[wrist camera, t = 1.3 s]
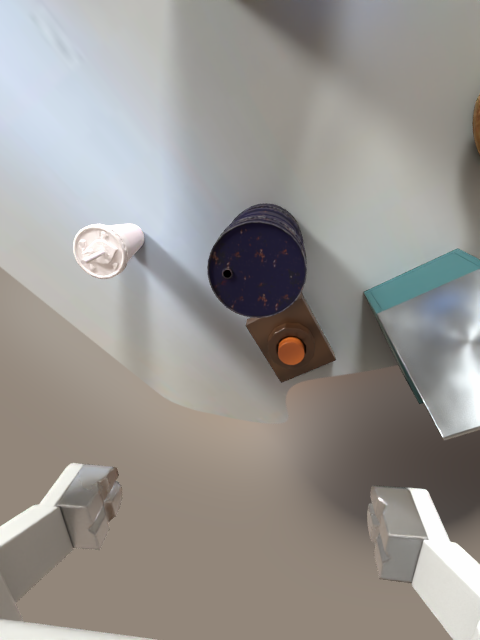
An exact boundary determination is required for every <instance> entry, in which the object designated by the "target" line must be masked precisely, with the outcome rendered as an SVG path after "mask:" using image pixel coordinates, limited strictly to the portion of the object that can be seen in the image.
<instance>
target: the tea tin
mask: <svg viewBox="0 0 480 640" xmlns="http://www.w3.org/2000/svg"><path fill="white" fill-rule="evenodd" d="M478 269H480V260H479V259H477V258H475V257H474V256H472V255H470V254H468V253H466V252H464V251H462V250H460V249H456V250H453V251H451V252H449V253H447V254H445V255H443V256H440V257H438V258H436V259H434V260H432V261H430V262H427V263H425V264H423V265H421V266H419V267H417V268H415V269H412V270H410V271H408V272H406V273H404V274H402V275H399V276H397V277H395V278H393V279H391V280H389V281H386V282H384V283H382V284H380V285H378V286H376V287H373V288H371V289H369V290H367V291H365V292H364V294H365V296H366V298H367V301H368V303H369V305H370V307H371V309H372V311H373V313H374V315H375V317H376V319H377V321H378V323H379V326H380V328H381V330H382V332H383V334H384V336H385V338H386V340H387V342H388V344H389V346H390V348H391V351H392V353H393V355H394V357H395V359H396V361H397V363H398V365H399V367H400V369H401V371H402V373H403V375H404V377H405V379H406V381H407V382H408V384H409V386H410V388H411V390H412V391H413V393H414V395H415V397H416V399H417V401H418V402H419V404H421V403H423V401H422V399H421V397H420V395H419V393H418V392H417V390H416V388H415V386H414V384H413V382H412V380H411V378H410V377H409V375H408V373H407V371H406V369H405V367H404V365H403V363H402V362H401V360H400V358H399V356H398V354H397V352H396V350H395V348H394V346H393V345H392V343H391V341H390V339H389V337H388V335H387V333H386V331H385V330H384V328H383V326H382V324H381V322H380V320H379V318H378V316H377V313H380V312H382V311H384V310H386V309H389V308H391V307H393V306H396V305H398V304H400V303H402V302H405V301H407V300H409V299H412V298H414V297H416V296H418V295H421V294H423V293H425V292H428V291H430V290H432V289H434V288H437V287H439V286H441V285H443V284H446V283H448V282H450V281H453V280H455V279H457V278H459V277H462V276H464V275H466V274H469V273H471V272H473V271H475V270H478Z"/></svg>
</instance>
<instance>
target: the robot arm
mask: <svg viewBox="0 0 480 640" xmlns="http://www.w3.org/2000/svg"><path fill="white" fill-rule="evenodd" d="M118 475H119V474H118V471H117V468H116V467H109V466H100V465H90V464H77V463H71V464H70V465H68V466H67V467H66V469H65V470H64V471H63V473H62V474H61V476H60V477H59V478H58V480H57V481H56V482H55V484H54V485H53V487H52V488H51V489H50V491H49V492H48V493H47V495H46V496H45V497H44V499H43V500H42V501H41V503H40V504H39V505H33V506H32V507H30V508H29V509H27V510H25V511H24V512H22V513H21V514H19V515H18V516H16V517H14V518H13V519H11V520H10V521H8V522H7V523H5V524H3V525H2V526H0V640H156V639H149V638H141V637H134V636H127V635H119V634H112V633H104V632H96V631H89V630H82V629H74V628H66V627H59V626H52V625H44V624H37V623H29V622H23V620H22V615H21V614H20V611H19V609H18V607H17V605H16V602H17V601H18V600H19V599H20V598H22V597H23V596H24V595H25V594H26V593H27V592H28V591H29V590H30V589H31V588H32V587H33V586H34V585H36V584H37V583H38V582H39V581H40V580H41V579H42V578H43V577H44V576H45V575H46V574H48V573H49V572H50V571H51V570H52V569H53V568H54V567H55V566H56V565H57V564H58V563H59V562H61V561H62V560H63V559H64V558H65V557H66V556H67V555H68V554H69V553H70V552H71V551H72V550H73V548H82V549H96V550H99V549H100V548H101V546H102V544H103V541H104V540H105V537H106V535H107V533H108V531H109V525H108V522H109V521H110V520H111V519H113V518H114V517H115V516H116V515H117V513H118V510H119V508H120V505H121V500H122V487H121V485H120V484H119V483H118V482H117V481H116V479H117V478H118ZM370 496H371V499H372V503H370V504H369V505H368V512H367V517H368V529H369V534H370V539H371V540H372V542H373V543H374V544H375V545H376V547H375V552H374V556H375V561H376V565H377V570H378V574H379V578H380V579H383V580H391V581H398V582H407V583H412V586H413V588H414V589H415V590H416V591H417V593H418V594H419V595H420V597H421V598H422V599H423V601H424V602H425V603H426V605H427V606H428V607H429V609H430V610H431V611H432V613H433V614H434V615H435V617H436V618H437V619H438V620H439V622H440V623H441V624H442V626H443V627H444V628H445V630H446V631H447V632H448V633H449V635H450V636H451V637H452V639H453V640H480V564H479V563H478V562H477V561H476V560H475V559H473V558H472V557H471V556H470V555H469V554H468V553H467V552H466V551H465V550H464V549H463V548H461V547H460V546H459V545H458V544H457V543H454V542H450V540H449V538H448V535H447V533H446V531H445V529H444V527H443V524H442V522H441V520H440V518H439V515H438V513H437V511H436V508H435V506H434V504H433V502H432V499H431V498H430V495H429V493H428V491H427V490H426V489H415V488H403V487H387V486H372V488H371V493H370Z"/></svg>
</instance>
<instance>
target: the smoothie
mask: <svg viewBox="0 0 480 640" xmlns="http://www.w3.org/2000/svg"><path fill="white" fill-rule="evenodd" d="M143 243H144V234H143V232H142V230H141V229H140V228H139V227H138V226H137V225H135V224H119V225H108V226H106V225H102V224H92V225H89V226H87V227H85V228H83V229H81V230H80V231H79V232H78V233H77V235H76V237H75V239H74V243H73V251H74V255H75V258H76V260H77V262H78V264H79V265H80V267H81V268H82V269H83V270H84V271H85V272H87V273H88V274H89V275H91V276H93V277H96V278H100V279H108V278H112V277H114V276H116V275H118V274H120V273H121V272H122V271H123V270H124V268H125V267H126V265H127V262H128V261H129V260H130V259H131V258H132V256H133V255H134V254H135V253H136V252H137V251H138V250H139V249H140V248H141V247H142V245H143Z"/></svg>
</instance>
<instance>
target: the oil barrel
mask: <svg viewBox="0 0 480 640" xmlns="http://www.w3.org/2000/svg"><path fill="white" fill-rule="evenodd" d="M306 272H307V268H306V254H305V248H304V243H303V237H302V234H301V231H300V228H299V226H298V224H297V222H296V220H295V219H294V217H293V216H292V215H291V214H290V213H289V212H288V211H286V210H285V209H283V208H282V207H280V206H277V205H273V204H258V205H254V206H251V207H250V208H248V209H246V210H245V211H243V212H242V213H240V214H239V215H238V216H237V217H236V218H235V219H234V220H233V222H232V223H231V224H230V225H229V226H228V227H227V228H226V229H225V230H224V232H223V233H222V234H221V235H220V237H219V238H218V240H217V242H216V243H215V245H214V246H213V248H212V250H211V253H210V256H209V259H208V278H209V282H210V285H211V288H212V290H213V292H214V294H215V295H216V297H217V298H218V299H219V300H220V302H221V303H223V304H224V305H225V306H226V307H227V308H229V309H230V310H231V311H233V312H235V313H237V314H240V315H243V316H247V317H252V318H263V317H269V316H273V315H276V314H278V313H281V312H282V311H284V310H285V309H287V308H288V307H289V306H291V305H292V304H293V303H294V302H295V301H296V299H297V298H298V297H299V295H300V293H301V292H302V289H303V287H304V284H305V280H306Z"/></svg>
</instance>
